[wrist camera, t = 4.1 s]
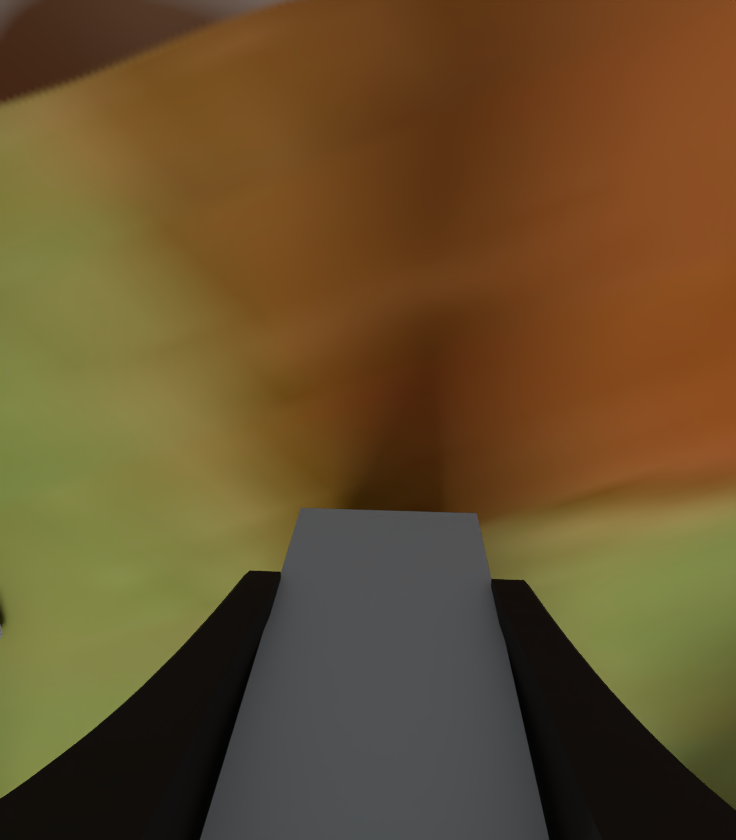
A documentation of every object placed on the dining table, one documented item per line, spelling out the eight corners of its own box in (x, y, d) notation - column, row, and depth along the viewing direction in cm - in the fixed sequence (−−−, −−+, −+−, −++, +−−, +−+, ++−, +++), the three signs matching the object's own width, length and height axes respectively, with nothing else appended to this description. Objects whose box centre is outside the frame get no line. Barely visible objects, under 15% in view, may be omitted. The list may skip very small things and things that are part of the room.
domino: (303, 565, 14) (191, 1012, 6) (300, 508, 13) (171, 932, 6) (471, 570, 14) (554, 1041, 6) (476, 512, 13) (575, 959, 6)
